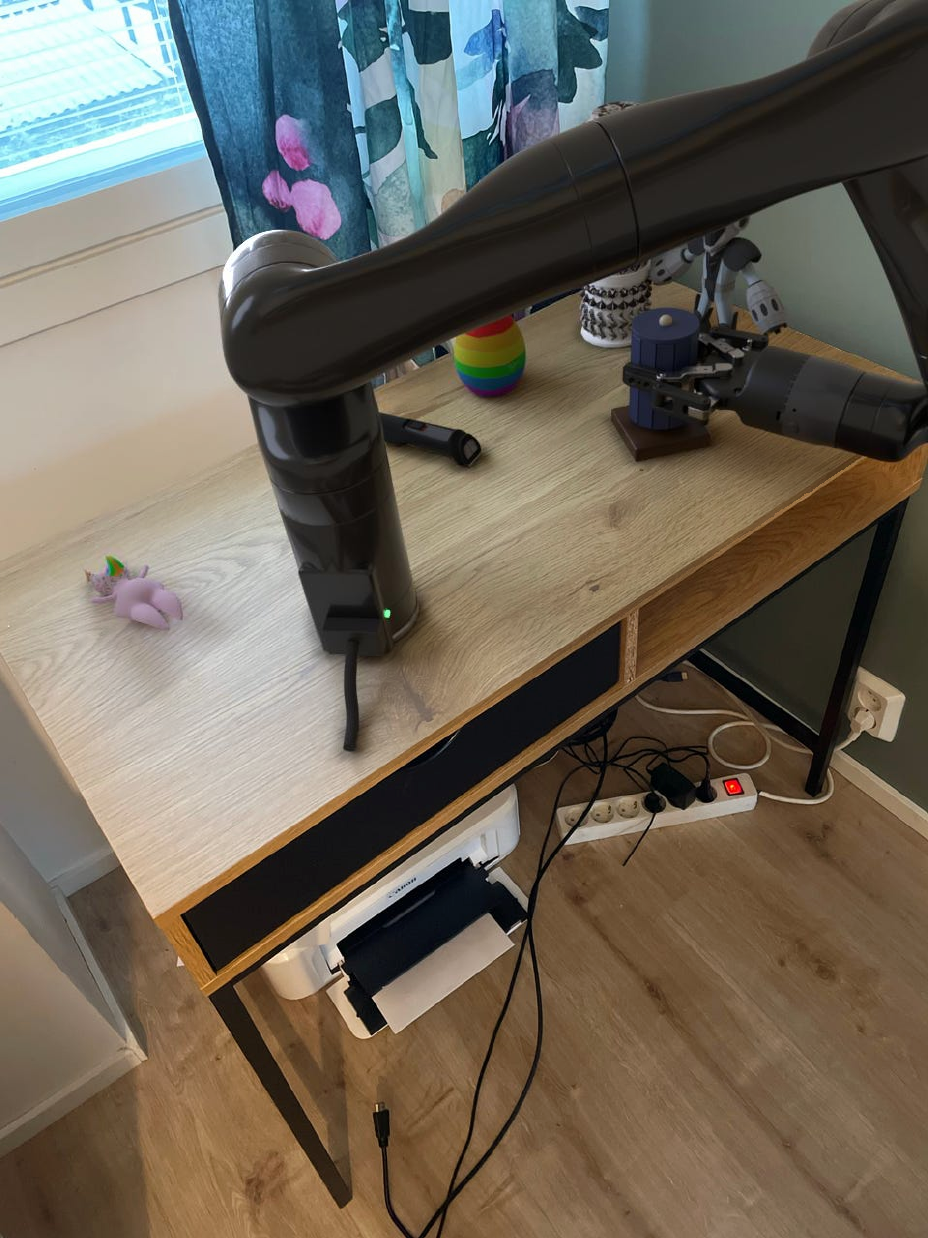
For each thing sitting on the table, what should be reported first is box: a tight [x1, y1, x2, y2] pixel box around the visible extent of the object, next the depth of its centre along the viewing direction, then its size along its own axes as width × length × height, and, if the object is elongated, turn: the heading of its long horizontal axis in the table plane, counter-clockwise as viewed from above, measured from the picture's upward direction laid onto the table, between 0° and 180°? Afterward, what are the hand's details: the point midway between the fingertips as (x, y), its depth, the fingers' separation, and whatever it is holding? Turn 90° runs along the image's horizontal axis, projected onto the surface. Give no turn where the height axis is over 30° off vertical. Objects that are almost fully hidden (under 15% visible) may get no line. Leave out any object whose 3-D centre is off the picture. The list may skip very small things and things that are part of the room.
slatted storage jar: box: [628, 307, 700, 430], centre depth 90 cm, size 6×6×11 cm
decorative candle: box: [579, 100, 653, 349], centre depth 102 cm, size 9×9×25 cm
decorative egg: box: [453, 315, 527, 398], centre depth 102 cm, size 8×8×10 cm
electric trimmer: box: [379, 411, 482, 467], centre depth 98 cm, size 4×16×3 cm, turn 59°
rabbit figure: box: [83, 554, 184, 631], centre depth 82 cm, size 6×6×15 cm
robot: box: [648, 216, 788, 364], centre depth 97 cm, size 20×5×20 cm, turn 34°
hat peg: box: [610, 404, 711, 462], centre depth 91 cm, size 8×8×12 cm
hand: (642, 355), depth 90 cm, fingers open, 6 cm apart
